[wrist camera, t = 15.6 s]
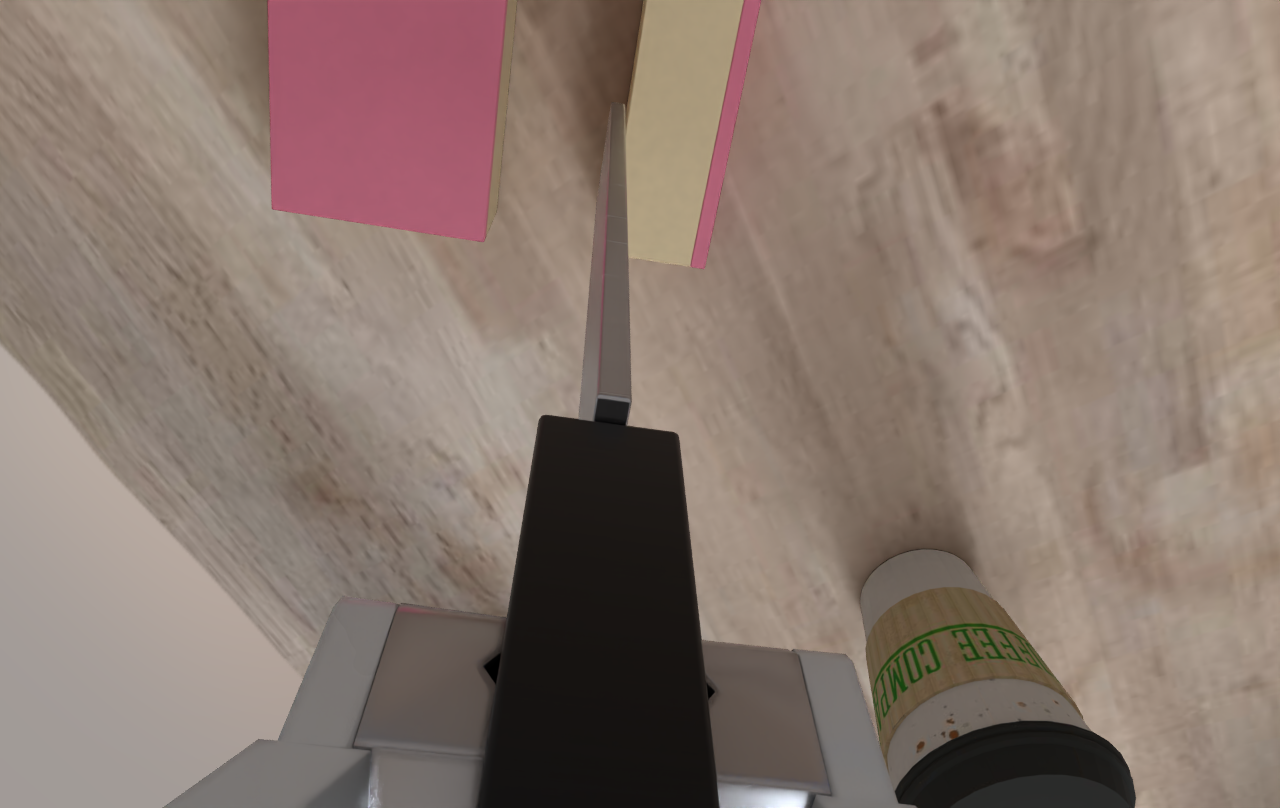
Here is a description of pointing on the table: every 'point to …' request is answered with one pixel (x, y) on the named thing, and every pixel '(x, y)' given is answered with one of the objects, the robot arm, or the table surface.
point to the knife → (603, 587)
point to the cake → (390, 111)
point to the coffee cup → (974, 699)
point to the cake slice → (683, 122)
